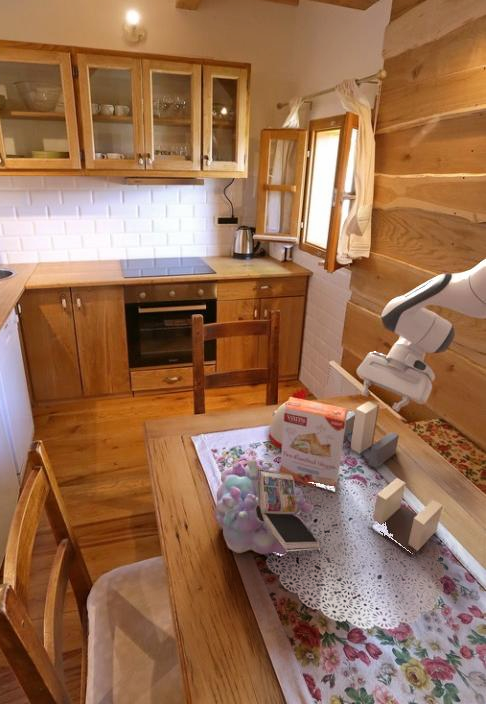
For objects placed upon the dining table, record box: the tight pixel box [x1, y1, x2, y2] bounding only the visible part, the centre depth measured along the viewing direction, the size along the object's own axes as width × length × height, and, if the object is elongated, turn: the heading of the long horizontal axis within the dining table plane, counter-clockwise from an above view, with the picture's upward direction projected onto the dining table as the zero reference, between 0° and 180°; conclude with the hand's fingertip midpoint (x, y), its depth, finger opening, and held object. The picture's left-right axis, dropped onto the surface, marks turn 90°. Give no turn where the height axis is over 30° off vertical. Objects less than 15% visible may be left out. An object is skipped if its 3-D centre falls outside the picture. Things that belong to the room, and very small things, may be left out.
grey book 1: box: [344, 410, 356, 438], centre depth 118 cm, size 2×10×6 cm, turn 128°
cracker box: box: [279, 396, 348, 488], centre depth 99 cm, size 14×6×21 cm, turn 68°
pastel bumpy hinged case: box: [214, 455, 321, 555], centre depth 85 cm, size 20×22×18 cm
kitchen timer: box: [268, 388, 308, 450], centre depth 116 cm, size 14×14×15 cm
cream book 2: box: [408, 499, 444, 552], centre depth 83 cm, size 2×8×7 cm, turn 128°
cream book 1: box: [372, 477, 406, 525], centre depth 89 cm, size 2×8×7 cm, turn 128°
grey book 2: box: [368, 431, 400, 469], centre depth 109 cm, size 2×10×6 cm, turn 128°
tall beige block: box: [350, 400, 380, 454], centre depth 112 cm, size 3×6×13 cm, turn 128°
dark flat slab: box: [380, 503, 418, 558], centre depth 88 cm, size 9×10×2 cm
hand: (379, 402), depth 113 cm, fingers open, 8 cm apart
